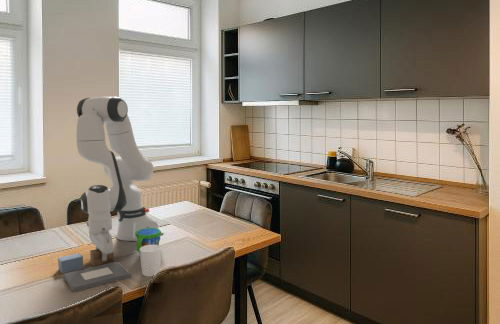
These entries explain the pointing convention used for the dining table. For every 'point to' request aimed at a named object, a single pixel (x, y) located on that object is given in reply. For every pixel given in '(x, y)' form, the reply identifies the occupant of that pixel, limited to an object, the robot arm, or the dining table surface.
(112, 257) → the walnut brick
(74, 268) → the blue brick
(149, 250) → the white cup
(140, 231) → the snack cup
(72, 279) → the baseplate
